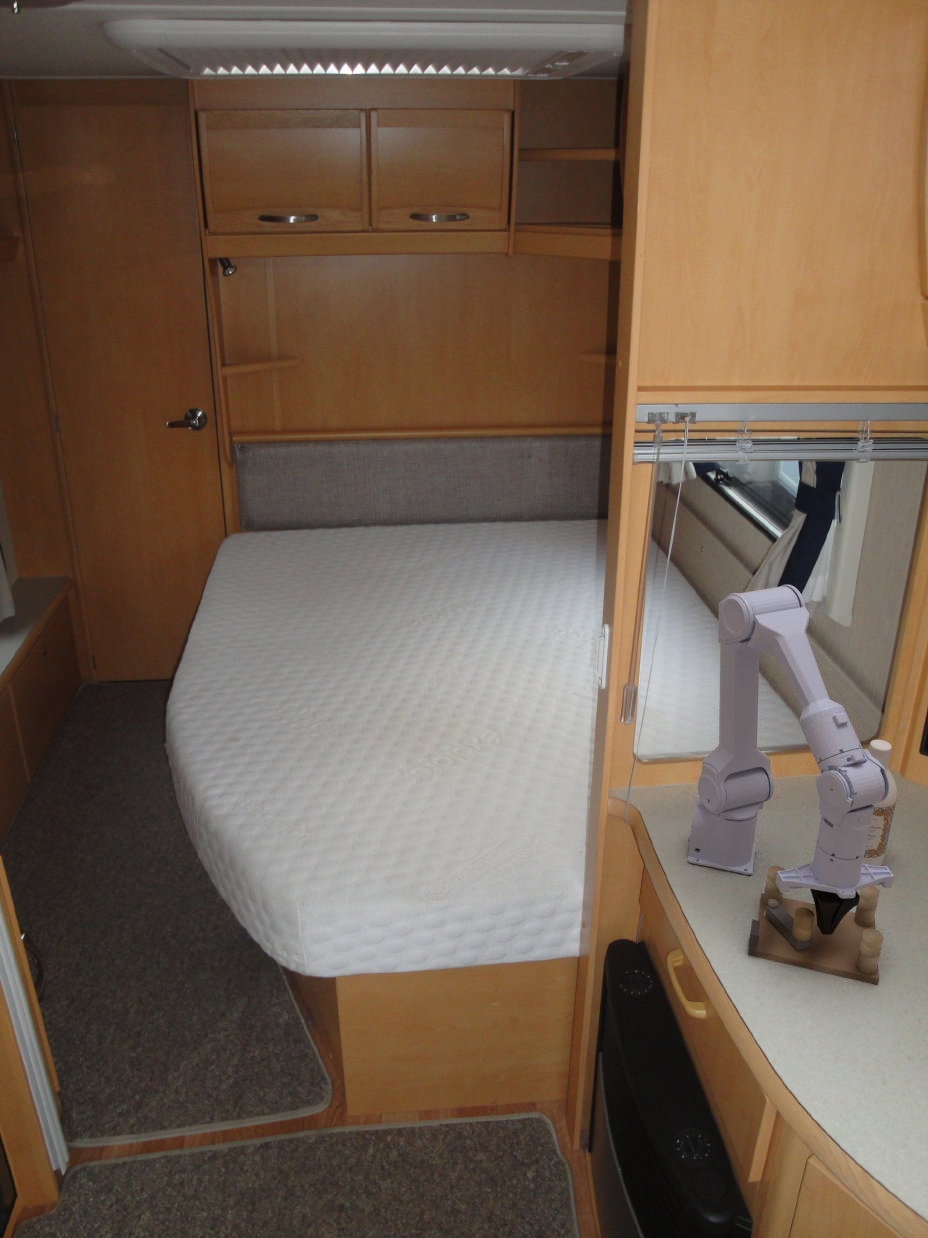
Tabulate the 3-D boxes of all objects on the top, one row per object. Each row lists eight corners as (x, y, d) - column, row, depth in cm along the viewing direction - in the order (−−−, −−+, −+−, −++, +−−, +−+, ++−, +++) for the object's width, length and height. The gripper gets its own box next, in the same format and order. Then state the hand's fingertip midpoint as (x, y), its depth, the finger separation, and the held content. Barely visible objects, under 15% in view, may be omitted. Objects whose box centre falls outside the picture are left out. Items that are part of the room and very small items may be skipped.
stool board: (747, 955, 123) (753, 917, 121) (753, 897, 134) (758, 861, 131) (877, 985, 118) (886, 946, 116) (873, 922, 129) (881, 885, 126)
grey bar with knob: (760, 913, 129) (765, 883, 127) (775, 909, 129) (780, 879, 127) (797, 952, 122) (803, 922, 120) (812, 947, 123) (818, 917, 121)
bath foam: (835, 867, 140) (856, 753, 132) (833, 839, 146) (853, 729, 138) (885, 875, 138) (910, 760, 130) (880, 847, 144) (904, 736, 136)
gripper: (796, 868, 113) (782, 954, 119) (912, 863, 114) (892, 948, 119) (775, 833, 120) (762, 915, 125) (885, 828, 120) (867, 911, 126)
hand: (824, 929), depth 123 cm, fingers closed
